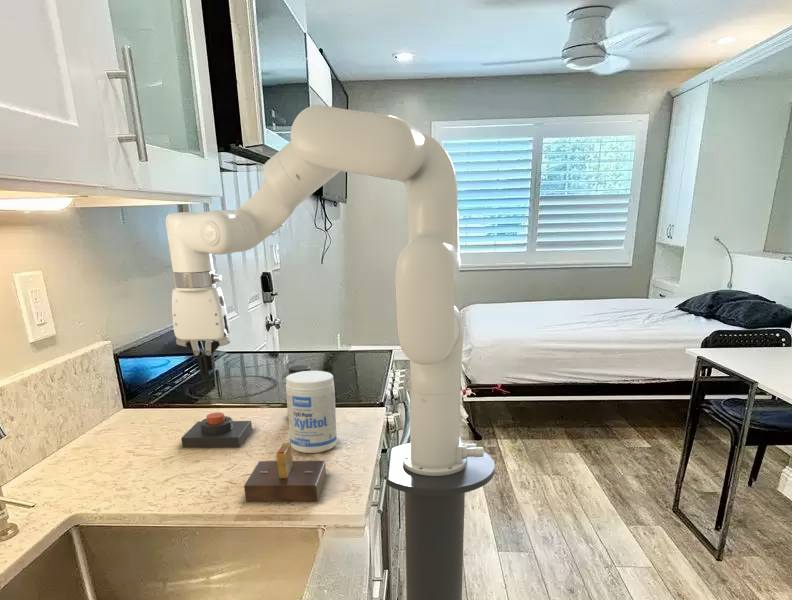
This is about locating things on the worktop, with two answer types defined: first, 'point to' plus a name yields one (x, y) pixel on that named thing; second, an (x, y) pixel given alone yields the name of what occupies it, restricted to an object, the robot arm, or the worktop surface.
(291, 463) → the thumb turn
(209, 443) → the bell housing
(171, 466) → the worktop surface
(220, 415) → the bell button
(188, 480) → the worktop surface
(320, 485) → the plate
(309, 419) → the supplement tub
